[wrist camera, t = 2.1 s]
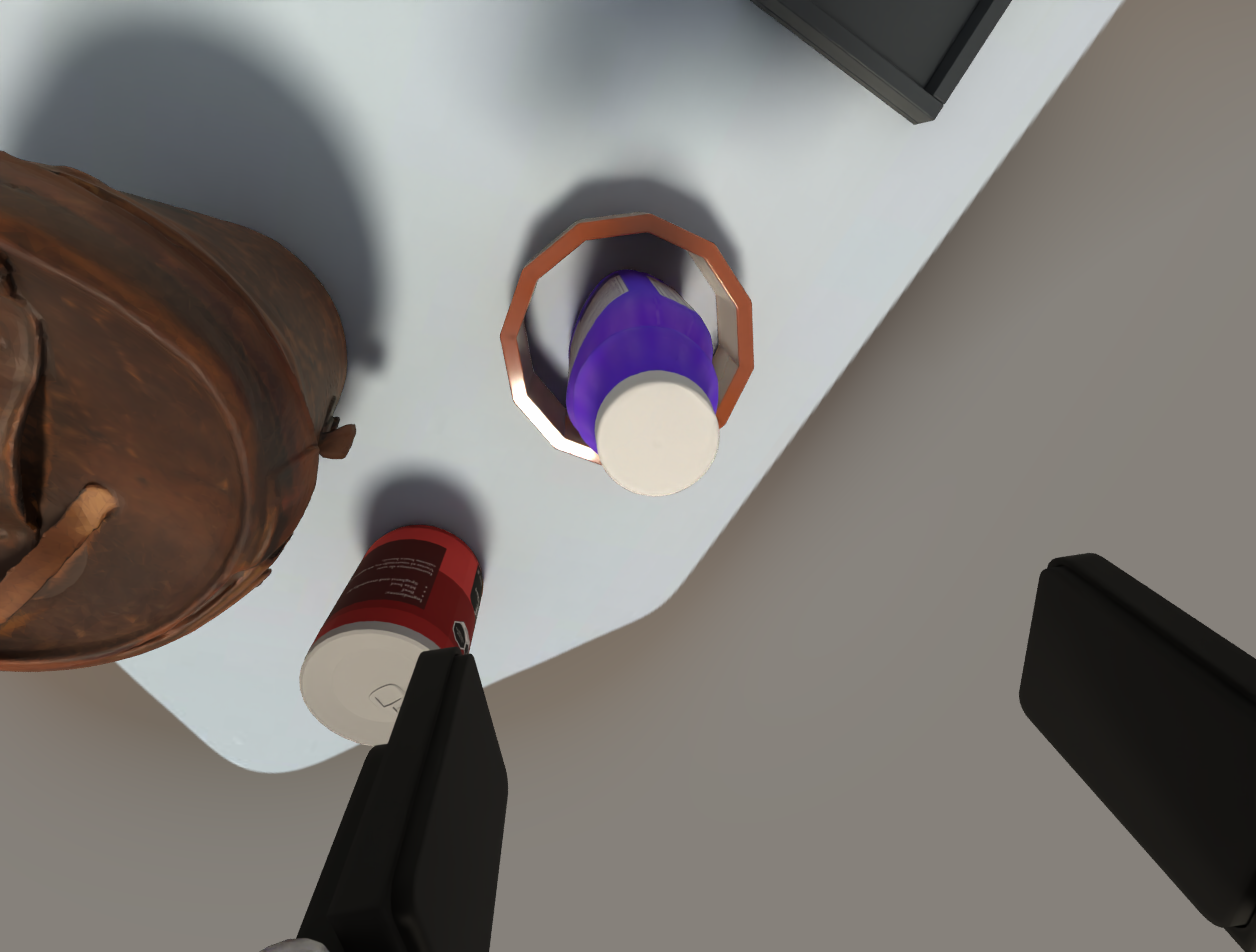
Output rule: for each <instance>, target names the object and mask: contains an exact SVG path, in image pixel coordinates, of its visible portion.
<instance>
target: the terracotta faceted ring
mask: <svg viewBox="0 0 1256 952" xmlns="http://www.w3.org/2000/svg"><path fill="white" fill-rule="evenodd" d="M647 232H648V233H650V234H652V235H654V236H656V237H659V238H661V239H663V240H665V241H667V242H669V243H672V244H674V245H676V246H678V247H680V248H682V249H685V250H687V252H688V253H689V255H690V256H691V258H692V259H693V261H694V262H695V264H696V265H697V267H698V268H699V270H700V271H701V273H702V274H703V276H704V277H705V279H706V280H707V282H708V283H709V285H710V286H711V288H712V289H713V291H714V292H715V294H716V306H717V323H718V341H719V346H718V348H717V350H716V352H715V354H714V356H713V358H712V364H713V366H714V369H715V372H716V375H717V378H718V405H717V411H716V418H717V421H718V425H719V429H720V428H721V427H723V426H724V425H725V424H726V422H727V420H728V418H729V416H730V414H731V412H732V410H733V408H734V406H735V404H736V402H737V400H738V398H739V396H740V395H741V393H742V391H743V389H744V387H745V385H746V383H747V381H748V379H749V377H750V375H751V373H752V371H753V369H754V354H753V324H752V302H751V299H750V298H749V296H748V295H747V293H746V292H745V290H744V288H743V287H742V285H741V284H740V282H739V281H738V279H737V278H736V276H735V274H734V273H733V271H732V270H731V268H730V267H729V265H728V263H727V262H726V260H725V259H724V257H723V256H722V254H721V253H720V251H719V249H718V248H717V246H716V245H715V244H714V243H713V242H710V241H708V240H706V239H704V238H702V237H700V236H698V235H696V234H693V233H691V232H689V231H687V230H685V229H683V228H681V227H679V226H676V225H674V224H672V223H670V222H668V221H666V220H664V219H661V218H659V217H657V216H655V215H653V214H650V213H644V212H633V213H625V214H618V215H610V216H602V217H595V218H587V219H580V220H577V221H576V222H575V223H573V224H572V225H571V226H570V227H569V228H567V229H566V230H565V231H564V232H562V233H561V234H560V235H559V236H558V237H556V238H555V239H554V240H553V241H552V242H550V243H549V244H548V245H547V246H546V247H544V248H543V249H542V250H541V251H540V252H538V253H537V254H536V255H535V256H534V257H532V258H531V259H530V260H529V262H528V263H527V264H526V266H525V267H524V268H523V270H522V272H521V275H520V278H519V281H518V284H517V287H516V290H515V293H514V295H513V298H512V301H511V304H510V307H509V310H508V313H507V316H506V319H505V322H504V325H503V327H502V330H501V333H500V340H501V344H502V349H503V354H504V359H505V364H506V369H507V374H508V378H509V383H510V388H511V393H512V398H513V401H514V403H515V404H516V405H517V406H518V407H519V408H520V409H521V411H522V412H523V413H524V414H525V415H526V416H527V417H528V418H529V420H530V421H531V422H532V423H533V424H534V425H535V426H536V428H537V429H538V430H539V431H540V432H541V433H542V434H543V435H544V437H545V438H546V439H547V440H548V441H549V442H550V443H551V445H552V446H553V447H554V448H556V449H558V450H561V451H563V452H566V453H569V454H572V455H575V456H577V457H580V458H583V459H586V460H588V461H591V462H594V463H597V464H600V465H602V463H601V461H600V458H599V455H598V454H597V453H596V452H594V451H593V450H592V449H591V448H590V447H589V445H588V444H587V443H585V441H584V440H583V439H582V437H581V435H580V434H579V431H578V430H577V429H576V428H575V427H574V426H573V424H572V422H571V420H570V418H569V415H568V412H567V409H565V408H564V406H563V405H562V404H561V403H560V402H559V400H558V399H557V398H556V397H555V396H554V395H553V393H552V392H551V391H550V390H549V389H548V387H547V386H546V385H545V384H544V383H543V381H542V380H541V379H540V378H539V377H538V376H537V374H536V373H535V372H534V371H533V366H532V360H531V355H530V349H529V344H528V339H527V333H526V328H525V323H524V319H525V316H526V313H527V310H528V308H529V305H530V302H531V299H532V296H533V294H534V291H535V288H536V285H537V282H538V279H539V278H541V277H542V276H543V275H544V274H545V273H547V272H548V271H549V270H550V269H552V268H553V267H554V266H555V265H556V264H558V263H559V262H560V261H561V260H562V259H564V258H565V257H566V256H567V255H569V254H570V253H571V252H572V251H573V250H575V249H576V248H577V247H578V246H580V245H581V244H582V243H583V242H584V241H586V240H594V239H601V238H609V237H617V236H624V235H632V234H639V233H647ZM602 466H603V465H602Z"/></svg>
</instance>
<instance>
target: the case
mask: <svg viewBox="0 0 1256 952" xmlns="http://www.w3.org/2000/svg"><path fill="white" fill-rule="evenodd" d="M346 370H347V350H346V341H345V336H344V331H343V327H342V324H341V320H340V317H339V314H338V312H337V309H336V307H335V305H334V304H333V302H332V300H331V298H330V296H329V295H328V293H327V291H326V290H325V288H324V287H323V285H322V284H321V283H320V282H319V281H318V279H317V278H316V277H315V275H314V274H313V273H312V272H311V271H310V270H309V269H308V268H307V267H306V266H305V265H304V264H303V263H302V262H301V261H300V260H299V259H298V258H297V257H296V256H295V255H293V254H292V253H291V252H290V251H288V250H287V249H286V248H285V247H283V246H282V245H281V244H279V243H277V242H276V241H274V240H273V239H271V238H269V237H267V236H265V235H263V234H261V233H258V232H256V231H254V230H252V229H249V228H246V227H244V226H241V225H238V224H235V223H231V222H228V221H224V220H220V219H217V218H214V217H210V216H207V215H204V214H200V213H197V212H193V211H190V210H186V209H183V208H179V207H176V206H172V205H168V204H165V203H162V202H158V201H154V200H151V199H147V198H143V197H140V196H136V195H133V194H129V193H125V192H122V191H118V190H115V189H113V188H110V187H109V186H107V185H106V184H104V183H103V182H101V181H100V180H98V179H96V178H95V177H93V176H91V175H89V174H87V173H84V172H82V171H79V170H77V169H74V168H71V167H67V166H51V165H45V164H41V163H36V162H31V161H25V160H21V159H18V158H16V157H13V156H11V155H10V154H8V153H6V152H4V151H0V671H15V672H17V671H18V672H41V671H57V670H69V669H77V668H84V667H91V666H96V665H101V664H106V663H110V662H115V661H119V660H122V659H126V658H130V657H133V656H137V655H140V654H143V653H146V652H149V651H151V650H154V649H156V648H159V647H161V646H164V645H166V644H168V643H170V642H173V641H175V640H177V639H179V638H181V637H183V636H185V635H187V634H189V633H191V632H193V631H195V630H196V629H198V628H199V627H201V626H203V625H204V624H206V623H207V622H209V621H210V620H212V619H214V618H215V617H217V616H218V615H219V614H221V613H222V612H224V611H225V610H227V609H228V608H229V607H231V606H232V605H233V604H235V603H236V602H238V601H239V600H240V599H241V598H243V597H244V596H245V595H247V594H248V593H249V592H250V591H251V590H253V589H254V588H255V587H258V586H259V585H260V584H261V583H262V582H263V580H265V579H266V578H267V577H268V576H269V575H270V573H271V572H272V571H271V569H268V568H269V567H270V566H271V565H272V564H273V563H274V562H275V560H276V559H277V558H278V556H279V555H280V554H281V552H282V551H283V549H284V547H285V545H286V544H287V542H288V541H289V540H290V538H291V536H292V535H293V533H294V532H293V531H294V530H295V529H296V527H297V525H298V523H299V522H300V520H301V518H302V516H303V515H304V512H305V510H306V508H307V506H308V504H309V502H310V499H311V496H312V494H313V491H314V489H315V486H316V480H317V471H318V462H319V454H320V455H321V456H322V457H323V458H329V459H343V458H345V457H346V455H347V453H348V452H349V449H350V448H351V446H352V443H353V439H354V437H355V435H356V427H355V424H354V425H353V424H348V425H344V426H342V427H340V428H338V424H339V421H340V418H339V417H333V413H334V410H335V408H336V406H337V403H338V401H339V398H340V396H341V393H342V390H343V386H344V382H345V378H346ZM337 428H338V429H337Z"/></svg>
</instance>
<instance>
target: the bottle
mask: <svg viewBox="0 0 1256 952" xmlns="http://www.w3.org/2000/svg"><path fill="white" fill-rule="evenodd" d="M712 358H713V347H712V340H711V336H710V333H709V331H708V329H707V327H706V326H705V324H704V322H703V320H702V319H701V317H700V316H699V315H698V314H697V313H696V312H695V311H694V309H693V308H692V307H691V306H690V305H689V304H688V303H687V302H686V301H685V300H684V299H683V298H682V297H681V296H680V295H679V294H678V293H677V292H676V291H675V290H674V289H673V288H671V287H670V286H668V285H667V284H665V283H664V282H663V281H662V280H660V279H658V278H656V277H654V276H652V275H650V274H648V273H644V272H639V271H636V270H630V269H623V270H618V271H615V272H613V273H610V274H609V275H607V276H606V277H604V278H603V279H602V280H601V281H600V282H599V283H598V284H597V286H596V287H595V288H594V289H593V291H592V292H591V294H590V295H589V297H588V298H587V300H586V302H585V304H584V306H583V308H582V310H581V312H580V314H579V317H578V319H577V322H576V324H575V327H574V330H573V334H572V337H571V341H570V346H569V372H568V386H567V394H566V407H567V412H568V415H569V418H570V420H571V422H572V424H573V426H574V427H575V428H576V429H577V430H578V431H579V434H580V435H581V437H582V439H583V440H584V441H585V443H587V444H588V445H589V447H590V448H591V449H592V450H593V451H594V452H596V453H597V454H598V455H599V458H600V461H601V463H602V465H603V468H604V469H605V471H606V472H607V473H608V475H609V476H610V477H611V478H612V479H613V480H614V481H615V482H616V483H618V484H619V485H620V486H622V487H623V488H625V489H627V490H629V491H631V492H634V493H636V494H641V495H646V496H664V495H670V494H674V493H677V492H680V491H682V490H684V489H686V488H688V487H689V486H691V485H692V484H694V483H695V482H697V481H698V480H699V479H700V478H701V477H702V476H703V475H704V474H705V473H706V471H707V470H708V469H709V467H710V466H711V464H712V462H713V461H714V459H715V456H716V453H717V450H718V446H719V436H720V433H719V425H718V421H717V418H716V411H717V405H718V378H717V375H716V372H715V369H714V366H713V364H712Z"/></svg>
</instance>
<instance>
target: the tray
mask: <svg viewBox="0 0 1256 952" xmlns="http://www.w3.org/2000/svg"><path fill="white" fill-rule="evenodd" d="M750 1H752V2H753V3H754V4H756V5H757V6H758V7H760V8H761V9H762V10H764V11H765V12H766V13H767V14H769V15H770V16H771V17H773V18H774V19H775V20H777V21H778V22H779V23H781V24H782V25H783V26H785V27H786V28H787V29H789V30H790V31H791V32H793V33H794V34H795V35H796V36H798V37H799V38H800V39H802V40H803V41H804V42H806V43H807V44H808V45H810V46H811V47H812V48H814V49H815V50H816V51H818V52H819V53H820V54H822V55H823V56H824V57H825V58H827V59H828V60H829V61H831V62H832V63H833V64H835V65H836V66H837V67H839V68H840V69H841V70H843V71H844V72H845V73H847V74H848V75H849V76H851V77H852V78H853V79H854V80H856V81H857V82H858V83H860V84H861V85H862V86H864V87H865V88H866V89H868V90H869V91H870V92H872V93H873V94H874V95H876V96H877V97H878V98H880V99H881V100H882V101H884V102H885V103H886V104H887V105H889V106H890V107H891V108H893V109H894V110H895V111H897V112H898V113H899V114H901V115H902V116H903V117H905V118H906V119H907V120H909V121H910V122H911V123H913V124H914V125H916V124H919V123H924V122H928V121H933V120H935V118H936V117H937V115H938V113H939V112H940V110H941V109H942V107H943V104H945V103H946V101H947V100H948V98H949V97H950V95H951V93H952V92H953V90H954V89H955V87H956V86H957V84H958V83H959V81H960V80H961V78H962V77H963V75H964V73H965V72H966V70H967V69H968V67H969V66H970V64H971V63H972V61H973V60H974V58H975V56H976V55H977V53H978V52H979V50H980V49H981V47H982V46H983V44H984V43H985V41H986V39H987V38H988V36H989V35H990V33H991V32H992V30H993V29H994V27H995V26H996V24H997V22H998V21H999V19H1000V18H1001V16H1002V15H1003V13H1004V12H1005V10H1006V9H1007V7H1008V6H1009V4H1010V2H1011V1H1012V0H750Z"/></svg>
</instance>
